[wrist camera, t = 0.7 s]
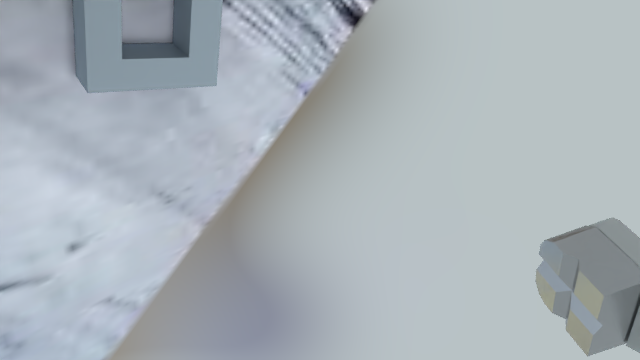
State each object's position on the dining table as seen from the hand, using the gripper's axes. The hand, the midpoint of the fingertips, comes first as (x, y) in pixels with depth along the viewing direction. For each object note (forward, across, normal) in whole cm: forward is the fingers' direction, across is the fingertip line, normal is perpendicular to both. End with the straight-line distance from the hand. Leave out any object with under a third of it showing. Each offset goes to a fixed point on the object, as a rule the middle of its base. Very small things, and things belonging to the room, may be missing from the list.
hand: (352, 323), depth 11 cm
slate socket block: (+43, +5, +8) cm, 44 cm away
